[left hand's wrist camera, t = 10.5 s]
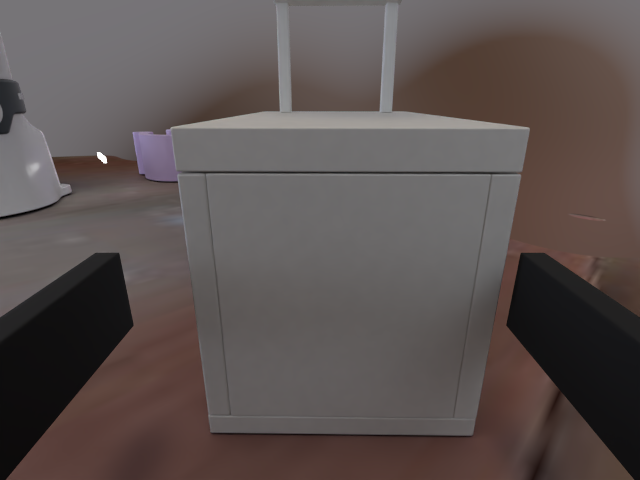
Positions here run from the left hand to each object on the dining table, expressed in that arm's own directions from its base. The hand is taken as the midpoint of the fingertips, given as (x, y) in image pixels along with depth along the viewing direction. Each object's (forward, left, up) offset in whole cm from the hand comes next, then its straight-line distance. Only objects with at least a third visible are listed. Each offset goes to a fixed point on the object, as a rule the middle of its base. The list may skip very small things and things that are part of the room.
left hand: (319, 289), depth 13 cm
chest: (+7, -5, -6) cm, 10 cm away
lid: (+7, -5, +4) cm, 9 cm away
